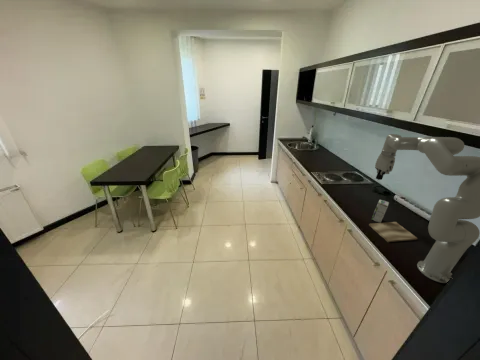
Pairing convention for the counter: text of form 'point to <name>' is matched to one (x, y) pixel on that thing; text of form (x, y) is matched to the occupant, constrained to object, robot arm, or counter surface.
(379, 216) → the syrup box
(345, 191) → the counter surface
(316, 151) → the counter surface
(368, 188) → the counter surface
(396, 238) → the oak board
